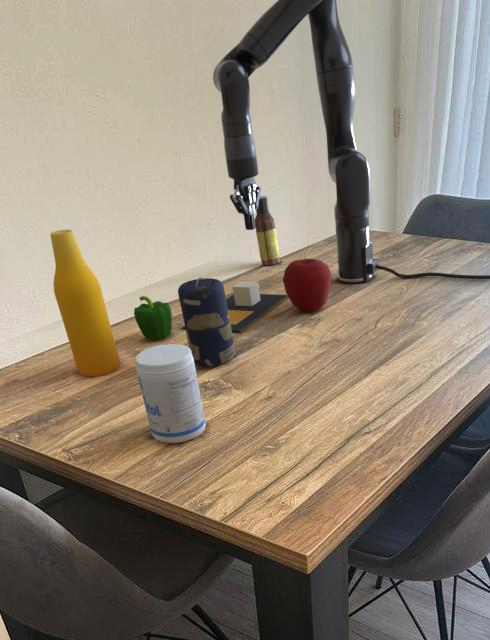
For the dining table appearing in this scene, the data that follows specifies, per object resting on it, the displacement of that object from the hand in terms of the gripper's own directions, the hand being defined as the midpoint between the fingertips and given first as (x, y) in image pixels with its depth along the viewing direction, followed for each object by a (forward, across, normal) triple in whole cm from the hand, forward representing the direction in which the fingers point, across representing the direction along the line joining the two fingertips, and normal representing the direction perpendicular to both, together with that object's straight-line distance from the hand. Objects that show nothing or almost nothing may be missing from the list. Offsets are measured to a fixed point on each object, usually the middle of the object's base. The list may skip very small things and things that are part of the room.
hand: (250, 229), depth 174 cm
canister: (+18, -44, -11) cm, 49 cm away
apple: (+18, -9, -19) cm, 28 cm away
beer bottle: (+18, -53, +13) cm, 58 cm away
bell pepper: (+18, -33, +11) cm, 39 cm away
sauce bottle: (+18, +33, +13) cm, 40 cm away
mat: (+18, -13, 0) cm, 22 cm away
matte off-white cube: (+17, -7, 0) cm, 19 cm away
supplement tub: (+18, -75, -22) cm, 80 cm away
